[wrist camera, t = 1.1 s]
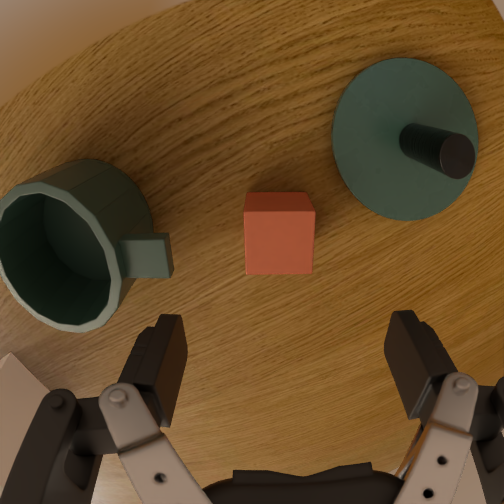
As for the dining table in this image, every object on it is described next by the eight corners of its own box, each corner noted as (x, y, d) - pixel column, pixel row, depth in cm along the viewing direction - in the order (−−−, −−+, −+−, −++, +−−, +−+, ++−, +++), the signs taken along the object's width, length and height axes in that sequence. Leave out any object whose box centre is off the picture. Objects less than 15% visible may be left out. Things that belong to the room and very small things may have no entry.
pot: (9, 172, 21) (-43, 197, 15) (182, 147, 20) (150, 167, 14) (37, 281, 25) (-1, 321, 20) (196, 285, 25) (178, 341, 19)
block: (246, 192, 21) (243, 211, 18) (306, 191, 21) (316, 210, 18) (248, 246, 23) (245, 275, 20) (304, 246, 23) (312, 274, 19)
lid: (328, 49, 17) (357, 28, 11) (472, 75, 17) (531, 77, 11) (326, 214, 22) (349, 258, 16) (459, 217, 22) (508, 255, 16)
